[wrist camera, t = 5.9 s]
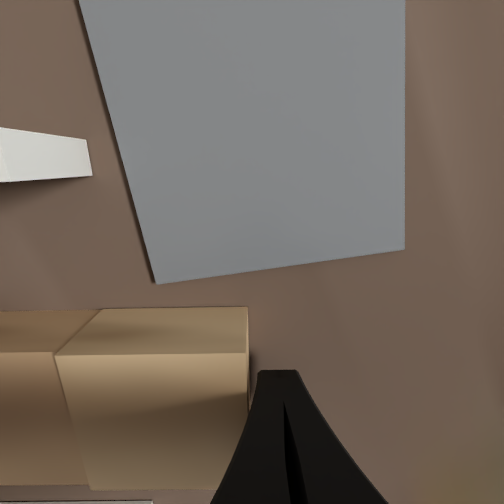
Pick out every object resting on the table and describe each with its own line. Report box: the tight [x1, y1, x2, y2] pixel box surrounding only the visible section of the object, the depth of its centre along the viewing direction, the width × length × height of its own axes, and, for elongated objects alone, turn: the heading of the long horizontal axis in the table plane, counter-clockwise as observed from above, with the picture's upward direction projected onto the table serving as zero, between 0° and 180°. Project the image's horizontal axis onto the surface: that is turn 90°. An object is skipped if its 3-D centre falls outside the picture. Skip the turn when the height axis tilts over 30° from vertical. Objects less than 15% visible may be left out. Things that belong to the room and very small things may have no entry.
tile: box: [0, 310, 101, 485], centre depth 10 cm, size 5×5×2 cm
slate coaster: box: [79, 0, 405, 285], centre depth 8 cm, size 8×8×1 cm
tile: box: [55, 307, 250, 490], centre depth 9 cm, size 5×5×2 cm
